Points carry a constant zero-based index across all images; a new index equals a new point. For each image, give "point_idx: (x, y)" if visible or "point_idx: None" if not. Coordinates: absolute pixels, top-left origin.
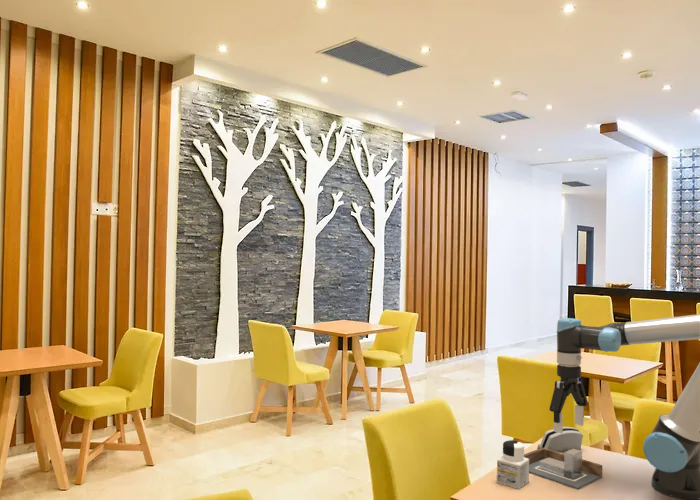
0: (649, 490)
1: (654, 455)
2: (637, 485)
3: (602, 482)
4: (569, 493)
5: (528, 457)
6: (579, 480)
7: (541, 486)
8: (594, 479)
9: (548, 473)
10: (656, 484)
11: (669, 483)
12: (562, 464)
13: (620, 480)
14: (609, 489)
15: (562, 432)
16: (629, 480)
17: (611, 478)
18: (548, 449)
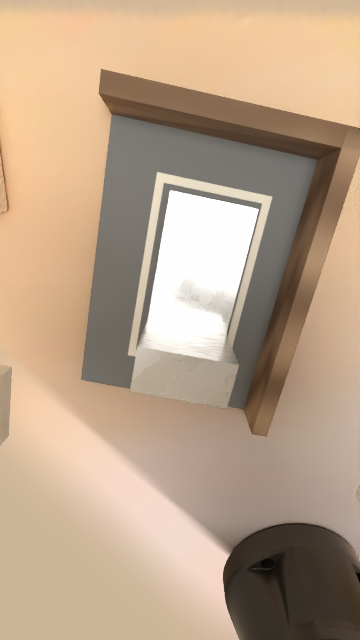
0: (234, 525)
1: None
2: (254, 497)
3: (208, 418)
4: (30, 364)
5: (182, 117)
6: None
7: (10, 268)
8: None
9: (140, 249)
10: (248, 556)
11: (233, 603)
12: (199, 295)
13: (266, 454)
14: (161, 447)
15: (4, 439)
16: (284, 473)
17: None
18: (347, 174)
